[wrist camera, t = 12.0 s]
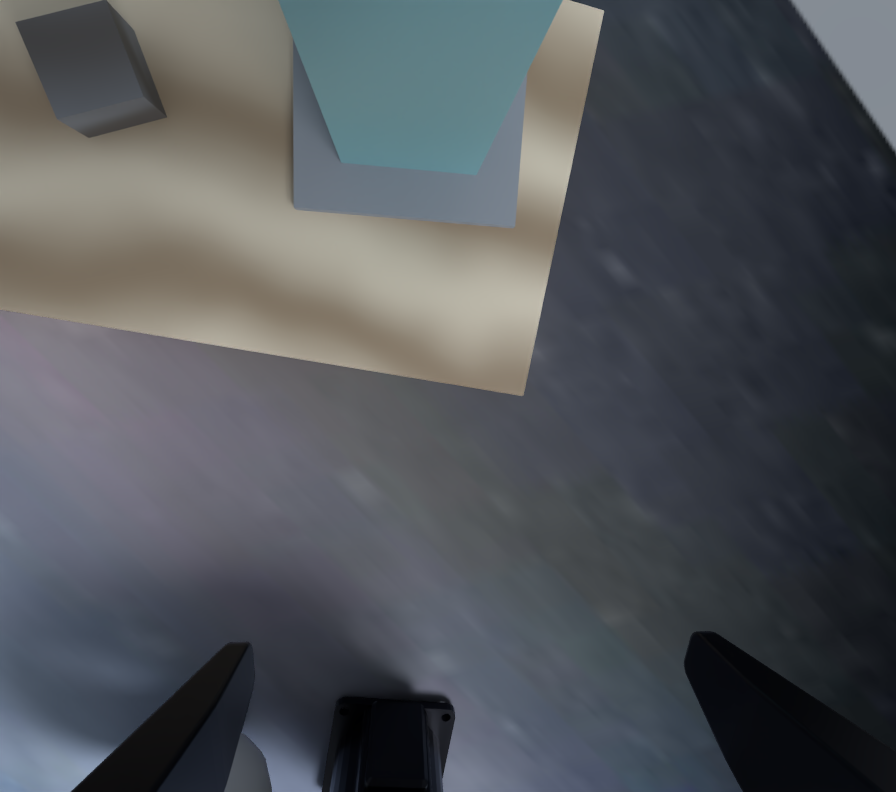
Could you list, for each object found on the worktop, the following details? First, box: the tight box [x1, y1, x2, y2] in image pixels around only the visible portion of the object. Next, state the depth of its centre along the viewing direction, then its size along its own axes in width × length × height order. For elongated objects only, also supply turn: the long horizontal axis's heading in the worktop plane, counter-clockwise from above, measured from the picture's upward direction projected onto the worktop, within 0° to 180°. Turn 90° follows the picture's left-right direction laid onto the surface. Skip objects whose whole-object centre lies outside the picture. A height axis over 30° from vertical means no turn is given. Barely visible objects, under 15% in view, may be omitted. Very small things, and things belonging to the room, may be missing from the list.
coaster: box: [293, 40, 527, 228], centre depth 17 cm, size 9×9×1 cm
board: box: [0, 0, 604, 396], centre depth 17 cm, size 16×24×3 cm, turn 79°
